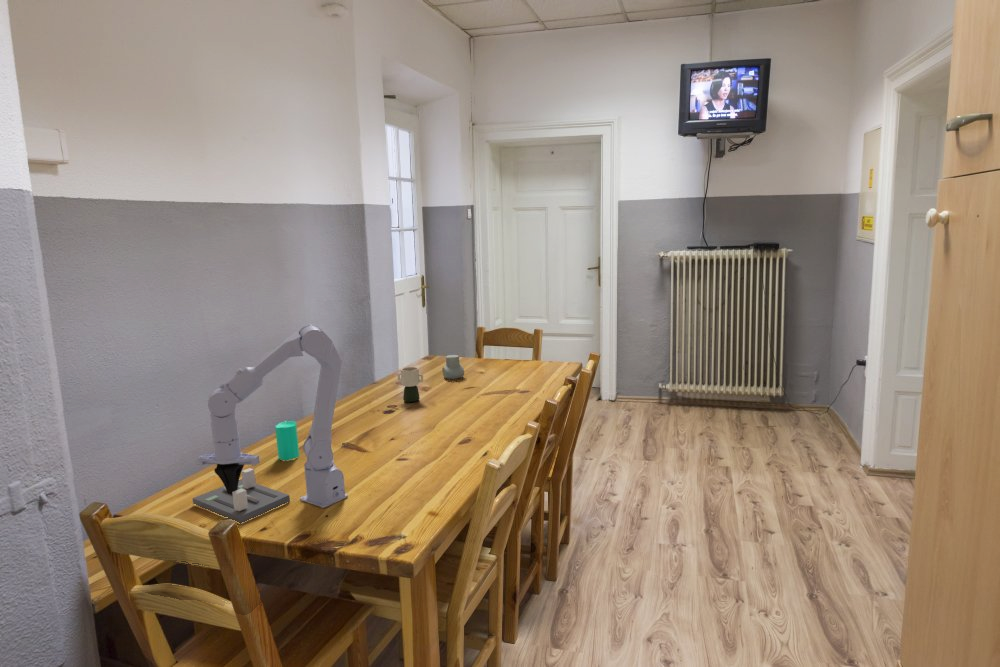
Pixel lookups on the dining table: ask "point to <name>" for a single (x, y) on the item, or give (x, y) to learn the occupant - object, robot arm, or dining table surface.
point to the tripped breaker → (240, 499)
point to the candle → (287, 440)
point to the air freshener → (453, 368)
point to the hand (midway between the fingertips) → (232, 492)
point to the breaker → (248, 478)
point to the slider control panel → (257, 500)
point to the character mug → (410, 383)
